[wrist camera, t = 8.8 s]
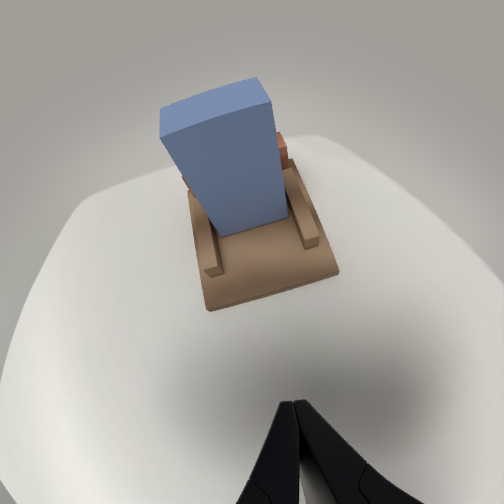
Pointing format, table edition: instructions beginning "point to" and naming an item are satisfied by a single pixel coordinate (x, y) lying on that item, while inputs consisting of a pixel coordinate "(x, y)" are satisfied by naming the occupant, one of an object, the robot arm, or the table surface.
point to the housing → (263, 249)
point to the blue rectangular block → (228, 154)
